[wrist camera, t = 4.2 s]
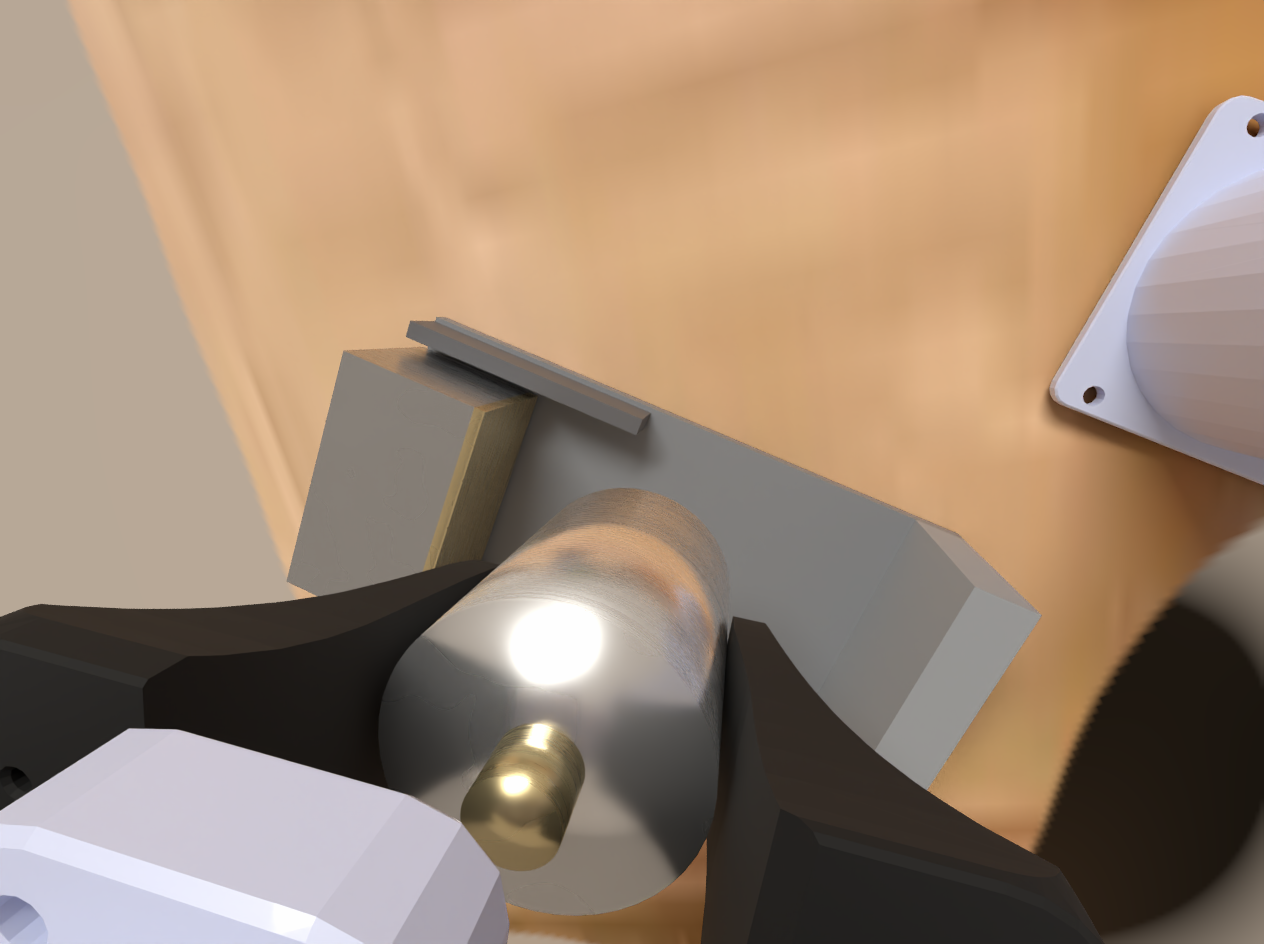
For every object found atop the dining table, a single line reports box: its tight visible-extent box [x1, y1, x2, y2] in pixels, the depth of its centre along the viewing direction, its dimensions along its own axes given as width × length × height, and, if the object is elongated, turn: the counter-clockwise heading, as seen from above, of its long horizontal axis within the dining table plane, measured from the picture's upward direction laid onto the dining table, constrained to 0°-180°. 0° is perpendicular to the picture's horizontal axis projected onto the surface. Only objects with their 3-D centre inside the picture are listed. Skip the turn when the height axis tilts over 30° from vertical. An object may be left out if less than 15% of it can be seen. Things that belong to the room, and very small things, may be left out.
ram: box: [287, 347, 538, 596], centre depth 18 cm, size 4×7×4 cm, turn 159°
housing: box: [378, 488, 730, 916], centre depth 10 cm, size 4×4×7 cm
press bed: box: [406, 317, 1042, 790], centre depth 18 cm, size 18×9×6 cm, turn 69°
